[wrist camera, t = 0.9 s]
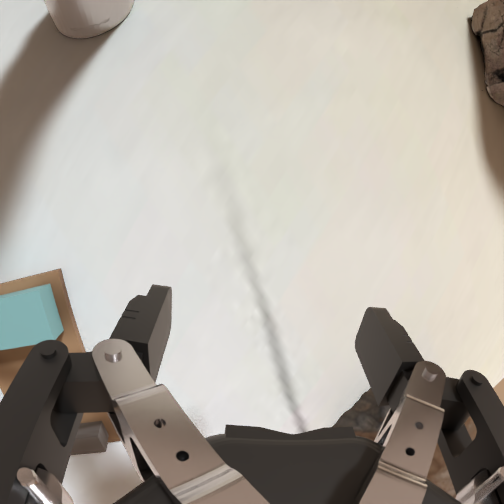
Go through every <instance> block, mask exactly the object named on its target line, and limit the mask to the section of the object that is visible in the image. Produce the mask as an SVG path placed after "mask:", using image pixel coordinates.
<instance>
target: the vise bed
mask: <svg viewBox="0 0 504 504" xmlns="http://www.w3.org/2000/svg"><path fill="white" fill-rule="evenodd" d="M46 284H51V288H52V292H53V296H54V299H55V303H56V306H57V309H58V313H59V316H60V319H61V322H62V326H63V329H64V331H63V332H62V333H61V334H60V335H59V336H58V338H57V339H56V340H58V341H61V342H63V343H64V344H65V345H66V346H67V348H68V351H69V353H82V352H86V351H85V348H84V346H83V343H82V340H81V337H80V334H79V331H78V328H77V325H76V321H75V318H74V315H73V312H72V308H71V305H70V301H69V298H68V294H67V290H66V287H65V283H64V279H63V275H62V271H61V269H57V270H53V271H49V272H45V273H41V274H37V275H33V276H29V277H25V278H21V279H17V280H13V281H9V282H5V283H1V284H0V295H4V294H8V293H12V292H17V291H21V290H25V289H29V288H33V287H37V286H42V285H46ZM35 345H36V344H35ZM35 345H30V346H24V347H18V348H12V349H6V350H0V388H1V390H2V392H3V395H5V393H6V392H7V390H8V388H9V386H10V384H11V383H12V381H13V379H14V378H15V376H16V374H17V372H18V371H19V369H20V367H21V366H22V364H23V362H24V361H25V359H26V358H27V356H28V354H29V353H30V351H31V350H32V348H33V347H34V346H35ZM114 441H121V440H120V438H119V436H118V434H117V432H116V430H115V428H114V426H113V424H112V422H111V420H110V418H109V416H108V414H107V412H98V413H84V414H83V417H82V420H81V423H80V426H79V429H78V432H77V435H76V438H75V441H74V444H73V448H72V451H71V454H70V455H75V454H88V453H98V452H106V448H107V442H114Z"/></svg>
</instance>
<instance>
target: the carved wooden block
mask: <svg viewBox="0 0 504 504" xmlns="http://www.w3.org/2000/svg"><path fill="white" fill-rule="evenodd" d="M472 20H473V21H472V30H473V31H474V33H475V35H479V36H480V37H481V49H482V52H483V55H484V57H485V61H484V63H485V66H486V67H485V73H484V74H485V78H486V80H485V84H487V85H488V86H487V87H486V88H487V90H488V93H489V95H490V97H492V98H493V99H494V100H495V101H494V102H497V103H498V104H500V105H503V106H504V0H488V1H487V2H485V3H483V4H481V5H479V6H478V8H476V9H474V13H473V16H472ZM482 91H483V90H482Z"/></svg>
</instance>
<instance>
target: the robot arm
mask: <svg viewBox="0 0 504 504" xmlns="http://www.w3.org/2000/svg"><path fill="white" fill-rule="evenodd" d="M44 2H45V4H46V6H47V9H48V11H49V13H50V15H51V17H52V19H53V21H54V23H55V25H56V27H57V29H58V31H59V32H61V33H62V34H63V35H65V36H68V37H71V38H88V37H93V36H96V35H99V34H102V33H104V32H106V31H109V30H111V29H112V28H114V27H115V26H117V25H118V24H119V23H120V22H121V21H123V20H124V19H125V18H126V16H127V15H128V14H129V13H130V11H131V9H132V7H133V3H134V0H44ZM171 308H172V289H171V287H168V286H160V285H152V286H151V288H150V290H149V292H148V294H147V296H142V295H138V296H136V297H135V298H133V299H132V300H131V301H129V303H128V305H127V307H126V309H125V311H124V312H123V314H122V317H121V318H120V320H119V321H118V323H117V325H116V327H115V329H114V331H113V333H112V335H111V337H110V338H109V339H107V340H104V341H101V342H99V343H98V344H97V345H96V346H95V347H94V348H93V351H92V352H82V353H69V351H68V348H67V346H66V345H65V344H64V343H63V342H61V341H58V340H45V341H42V342H40V343H38V344H36V345H35V346H34V347H33V348H32V350H31V351H30V353H29V354H28V356H27V358H26V359H25V361H24V362H23V364H22V366H21V367H20V369H19V371H18V372H17V374H16V376H15V378H14V379H13V381H12V383H11V384H10V386H9V388H8V390H7V392H6V393H5V395H4V397H3V399H2V401H1V402H0V504H74V503H73V500H72V498H71V496H70V495H69V493H68V492H67V491H66V490H65V488H64V487H63V486H62V482H63V478H64V475H65V471H66V468H67V464H68V461H69V457H70V454H71V451H72V448H73V444H74V441H75V438H76V435H77V432H78V429H79V426H80V423H81V420H82V417H83V414H84V413H98V412H107V414H108V416H109V418H110V420H111V422H112V424H113V426H114V428H115V430H116V432H117V434H118V436H119V438H120V440H121V442H122V444H123V445H124V447H125V449H126V451H127V453H128V455H129V457H130V460H131V462H132V464H133V466H134V468H135V470H136V472H137V473H138V475H139V477H140V478H141V480H142V482H143V483H141V484H140V485H139V486H137V487H136V488H135V489H133V490H132V491H130V492H129V493H128V494H126V495H125V496H123V497H122V498H121V499H119V500H118V501H116V502H115V503H113V504H504V406H503V404H502V403H501V401H500V399H499V398H498V396H497V394H496V393H495V391H494V389H493V388H492V386H491V385H490V383H489V381H488V380H487V379H486V377H485V376H483V375H482V374H481V373H479V372H477V371H474V370H467V371H465V372H464V373H463V374H462V376H461V378H460V379H454V378H449V377H446V375H445V373H444V371H443V370H442V369H441V368H440V367H439V366H438V365H436V364H434V363H432V362H429V361H424V359H423V358H422V356H421V354H420V353H419V351H418V350H417V348H416V346H415V345H414V343H412V340H411V338H410V337H409V336H408V334H407V332H406V331H405V329H404V327H403V326H401V325H400V324H399V323H398V322H397V321H395V320H393V319H392V317H391V316H390V314H389V312H388V311H387V309H385V308H375V307H369V308H367V310H366V311H365V314H364V317H363V320H362V322H361V325H360V328H359V330H358V333H357V336H356V340H355V349H356V352H357V355H358V357H359V359H360V362H361V364H362V367H363V369H364V372H365V374H366V377H367V379H368V381H369V384H370V387H371V389H372V392H373V394H374V397H375V399H376V402H377V404H378V406H388V405H389V406H390V410H389V411H388V413H387V415H386V417H385V419H384V421H383V423H382V426H381V428H380V430H379V432H378V434H377V436H376V438H375V440H374V441H372V440H370V439H367V438H364V437H360V436H356V435H355V432H354V429H353V426H352V427H332V428H321V429H317V430H313V431H309V432H304V433H300V434H287V433H282V432H278V431H274V430H270V429H265V428H261V427H251V426H237V425H226V428H225V434H219V435H214V436H210V437H207V438H204V437H203V436H202V434H201V433H200V432H199V431H198V429H197V428H196V427H195V425H194V424H193V423H192V422H191V420H190V419H189V418H188V416H187V415H186V414H185V412H184V411H183V410H182V408H181V407H180V406H179V404H178V403H177V401H176V400H175V399H174V397H173V396H172V394H171V393H170V392H169V390H168V389H167V388H166V386H165V385H163V384H159V385H156V384H155V382H156V378H157V375H158V371H159V368H160V365H161V361H162V358H163V354H164V351H165V348H166V344H167V341H168V338H169V334H170V329H171ZM470 416H471V418H472V420H473V422H474V424H475V426H476V430H477V433H476V437H475V439H474V440H473V441H472V439H471V437H470V435H469V433H468V431H467V429H466V427H465V424H464V423H465V422H466V421H467V419H468V418H469V417H470ZM437 443H438V445H439V448H440V451H441V453H442V456H443V459H444V461H445V464H446V467H447V469H448V472H449V475H450V478H451V481H452V484H453V486H454V489H455V492H456V495H457V496H456V499H455V498H454V497H452V496H451V495H449V494H448V493H446V492H445V491H443V490H442V489H440V488H439V487H438V486H436V485H435V484H433V483H432V482H430V481H429V480H428V479H426V478H427V475H428V471H429V468H430V465H431V462H432V459H433V455H434V452H435V448H436V445H437Z"/></svg>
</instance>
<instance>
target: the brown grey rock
mask: <svg viewBox="0 0 504 504" xmlns="http://www.w3.org/2000/svg"><path fill="white" fill-rule="evenodd" d="M389 410H390V406H389V405H388V406H378V404H377V402H376V399H375V397H374V394H373V392H372V389H371V388H370V389H369V391H367V392H365V393H364V394H363V395H362V396H361V398H360V399H359V401H357V402H356V403H355V404H354V406H353V407H352V408H351V409H350V410H348V411H346V412H345V413H344V414H343V415H342V416H341V417H340V418H339V420H338V421H337V422H336V424H335V425H334V426H333V427H352V426H353V429H354V432H355V435H356V436H360V437H364V438H367V439H370V440H372V441H374V440H375V438H376V436H377V434H378V432H379V430H380V428H381V426H382V423H383V421H384V419H385V417H386V415H387V413H388V411H389ZM464 424H465V427H466V429H467V431H468V433H469V435H470V437H471V439H472V441H473V440H474V439H475V437H476V433H477V430H476V426H475V424H474V422H473V420H472V418H471V416H470V417H469V418H468V419H467V421H466V422H465V423H464ZM331 428H332V427H331ZM426 479H428V480H429V481H430V482H432V483H433V484H435V485H436V486H438V487H439V488H440V489H442V490H443V491H445V492H446V493H448V494H449V495H451V496H452V497H454V498H455V499H456V496H457V495H456V492H455V489H454V486H453V484H452V481H451V478H450V475H449V472H448V469H447V467H446V464H445V461H444V459H443V456H442V453H441V451H440V448H439V445H438V443H437V445H436V448H435V452H434V455H433V459H432V462H431V465H430V468H429V471H428V475H427V478H426Z"/></svg>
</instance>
